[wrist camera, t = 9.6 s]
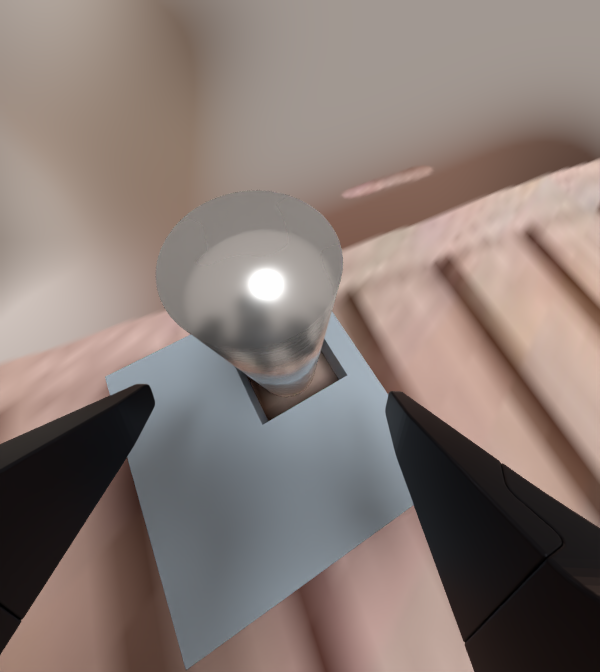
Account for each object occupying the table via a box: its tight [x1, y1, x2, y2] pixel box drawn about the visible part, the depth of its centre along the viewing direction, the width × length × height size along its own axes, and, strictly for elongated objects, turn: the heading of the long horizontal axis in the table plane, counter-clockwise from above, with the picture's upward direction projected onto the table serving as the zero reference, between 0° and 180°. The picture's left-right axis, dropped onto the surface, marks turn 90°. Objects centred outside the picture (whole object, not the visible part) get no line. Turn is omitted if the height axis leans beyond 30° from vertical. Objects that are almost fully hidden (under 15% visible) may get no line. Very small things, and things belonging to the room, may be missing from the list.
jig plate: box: [105, 312, 414, 670], centre depth 15 cm, size 15×15×3 cm
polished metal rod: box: [156, 190, 343, 397], centre depth 12 cm, size 4×4×13 cm
